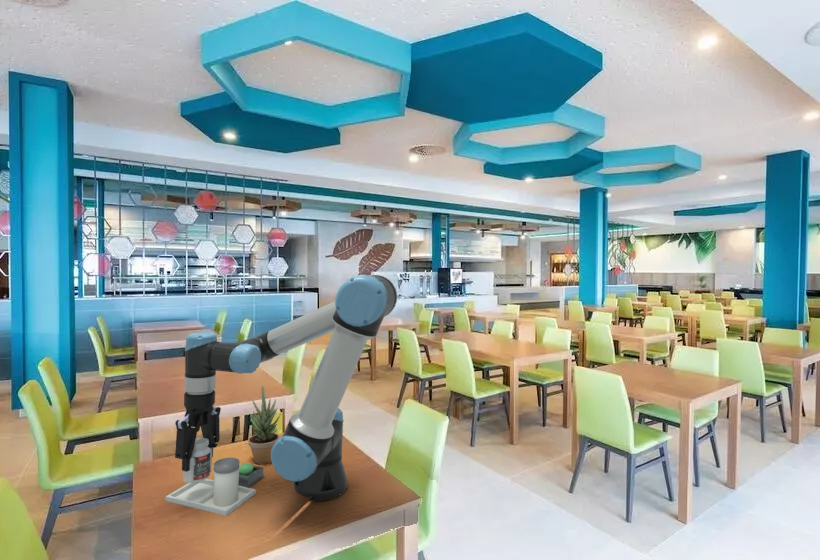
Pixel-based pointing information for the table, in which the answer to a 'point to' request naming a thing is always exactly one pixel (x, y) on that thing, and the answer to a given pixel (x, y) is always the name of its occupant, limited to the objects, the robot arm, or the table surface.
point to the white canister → (226, 481)
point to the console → (251, 477)
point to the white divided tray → (206, 497)
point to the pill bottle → (201, 459)
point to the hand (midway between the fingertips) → (197, 476)
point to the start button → (245, 469)
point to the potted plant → (263, 432)
